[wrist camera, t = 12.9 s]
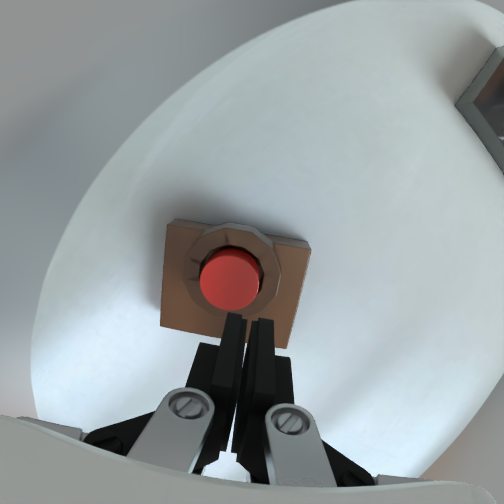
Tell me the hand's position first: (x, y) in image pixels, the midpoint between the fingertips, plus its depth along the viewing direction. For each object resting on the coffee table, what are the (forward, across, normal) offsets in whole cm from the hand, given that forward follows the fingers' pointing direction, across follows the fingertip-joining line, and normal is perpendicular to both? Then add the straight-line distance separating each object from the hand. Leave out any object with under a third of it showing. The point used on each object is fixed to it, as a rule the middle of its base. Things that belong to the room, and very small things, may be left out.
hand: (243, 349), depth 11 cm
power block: (+15, +1, +4) cm, 16 cm away
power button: (+12, +1, +2) cm, 12 cm away
